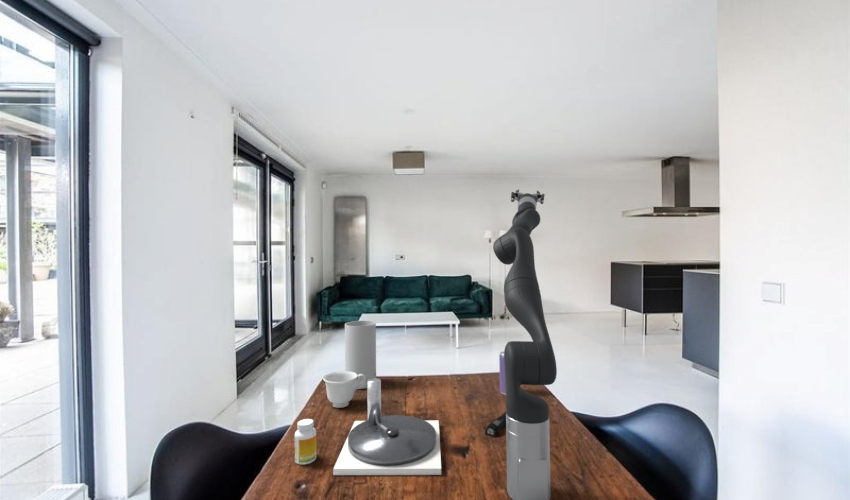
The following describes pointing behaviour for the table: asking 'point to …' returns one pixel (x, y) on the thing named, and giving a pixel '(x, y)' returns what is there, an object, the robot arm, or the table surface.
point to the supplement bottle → (305, 442)
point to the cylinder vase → (361, 350)
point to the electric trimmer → (496, 426)
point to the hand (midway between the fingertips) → (527, 192)
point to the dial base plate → (420, 467)
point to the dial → (389, 435)
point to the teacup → (342, 387)
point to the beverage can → (502, 373)
